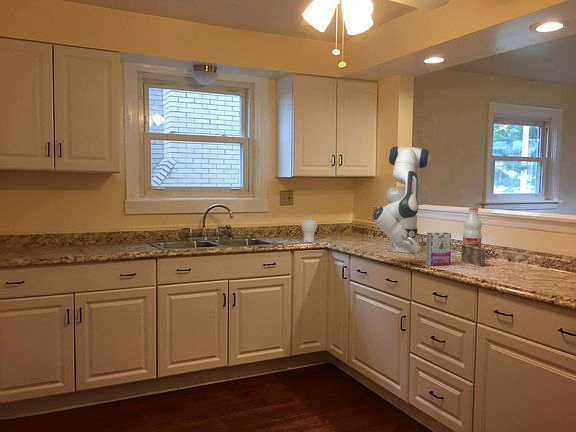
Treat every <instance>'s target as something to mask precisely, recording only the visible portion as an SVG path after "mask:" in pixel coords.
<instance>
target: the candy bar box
mask: <svg viewBox="0 0 576 432" xmlns="http://www.w3.org/2000/svg"><path fill="white" fill-rule="evenodd" d="M451 243H452V233H451V232H447V231H445V232H444V231H441V232H440V231H439V232H427V233H426V265H427V266H431V267H436V266H437V267H438V266H439V267H440V266H450V265H451V254H452V253H451V248H452V244H451Z"/></svg>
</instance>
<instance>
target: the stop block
mask: <svg viewBox="0 0 576 432" xmlns="http://www.w3.org/2000/svg"><path fill="white" fill-rule="evenodd" d="M460 246H461V257H460V258H461V262H464V263H468V264H470V265H471V264H472V265H474V266H478V267H481V268H483V267H484V268H485V267H486V248H485V247H484V248H483V247H481V248H480V247H476V246H471V245H467V244H463V243H461V244H460Z"/></svg>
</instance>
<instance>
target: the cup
mask: <svg viewBox="0 0 576 432" xmlns="http://www.w3.org/2000/svg"><path fill="white" fill-rule="evenodd" d="M300 225H301V226H300V227H301V231H302V233H303V240H302V243H306V242H313V243H315V232H316V231H317V227H318V223H317V220H316V219H302V220H301V224H300Z"/></svg>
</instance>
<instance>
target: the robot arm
mask: <svg viewBox="0 0 576 432" xmlns="http://www.w3.org/2000/svg"><path fill="white" fill-rule="evenodd" d="M430 160H431V155H430V151H429V150H428V149H426V148H419V147H415V146H393V147H391V148H390V150H389V153H388V163H389V164H390V165H392V166H393V169H392V177H393V179H394V180H395V182H397V183H399V184H401V185H399V186H391V187H389V188H388V189H387V191H386V194H385V198H386V201H387V202H388V204H387V205H385V206H381V207H378V208H377V209H376V210H375V211H374V213H373V216H372V218H373V221H374V223H375V225H376V226H377V227H378V228H379V229H380V230H381V232H383V233H384V234H385V235H386V238H387V239H388V240H389V244H390V246H387V247H386V249H387V250H388V251H390V252H393V253H405V254H409V253H411V254H412V255H413V256H415V257H417V256H418V255H419V252H422V247H421V245H420V238H419V236H418V227H417V226H418V216H417V214H418V212H419V206H422V205H427V204H429V202H430V200H431V198H432V193H431V191H430V189H429V188H428V187H426V186H425V185H424V184H423V183H422V181H421V176H420V175H421V174H420V173H421V169H425V168H426V167H427V166H428V164H429V163H430ZM403 185H404V186H403Z"/></svg>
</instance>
